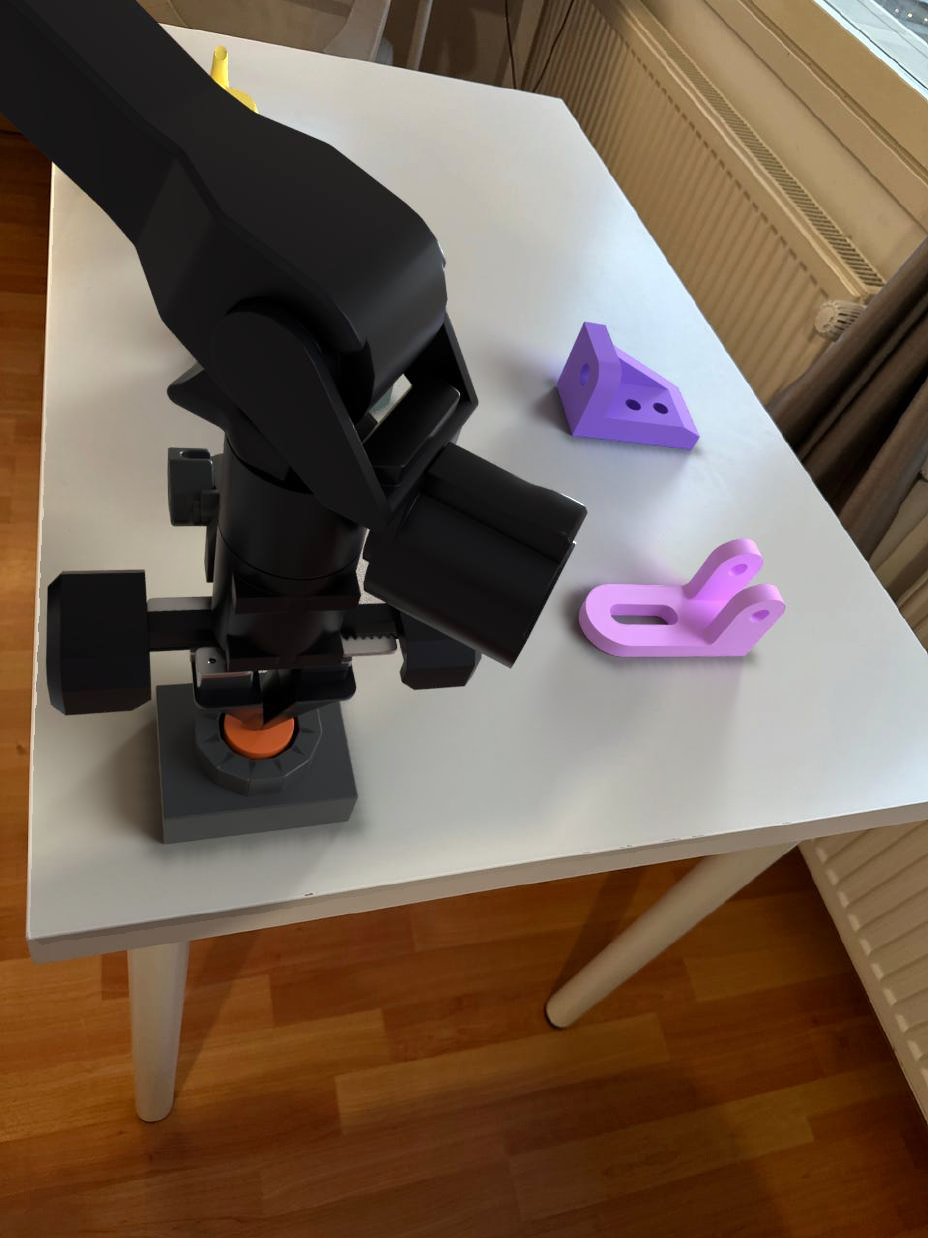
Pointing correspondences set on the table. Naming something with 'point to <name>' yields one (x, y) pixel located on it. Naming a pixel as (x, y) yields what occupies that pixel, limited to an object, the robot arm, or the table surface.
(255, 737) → the release button
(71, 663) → the robot arm
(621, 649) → the bracket
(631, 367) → the bracket
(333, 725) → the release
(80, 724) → the table surface
